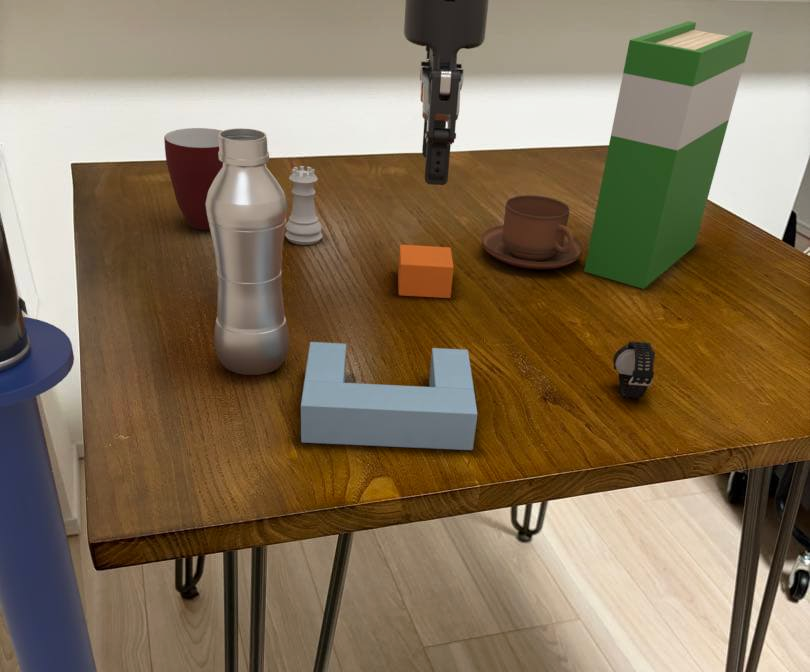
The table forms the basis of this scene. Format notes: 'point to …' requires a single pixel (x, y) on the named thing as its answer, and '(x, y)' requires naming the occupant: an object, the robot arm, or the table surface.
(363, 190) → the table surface
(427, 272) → the orange block
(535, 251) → the cup and saucer
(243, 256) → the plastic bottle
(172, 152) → the mug
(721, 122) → the hardback book
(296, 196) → the rook chess piece
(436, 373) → the light blue u-shaped block
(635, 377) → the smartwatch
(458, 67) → the robot arm
